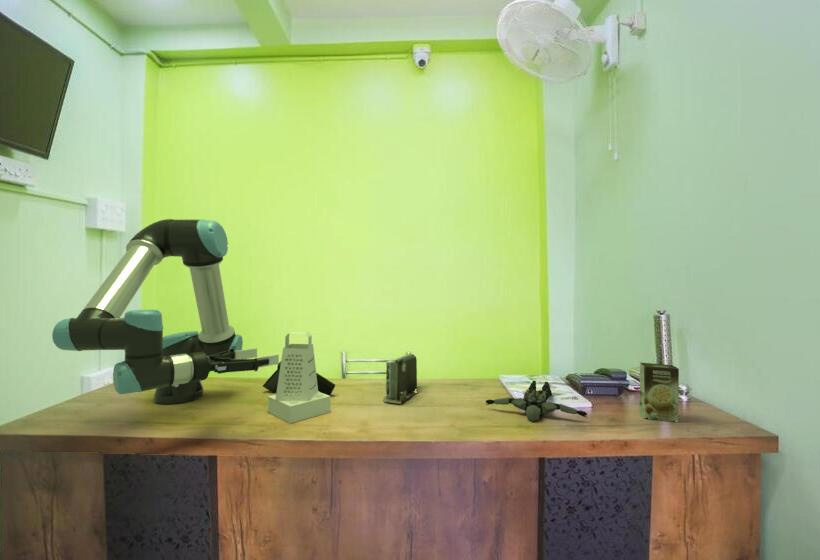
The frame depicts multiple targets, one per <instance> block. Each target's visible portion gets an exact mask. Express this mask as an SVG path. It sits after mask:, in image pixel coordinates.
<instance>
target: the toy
mask: <svg viewBox="0 0 820 560" xmlns="http://www.w3.org/2000/svg"><path fill="white" fill-rule="evenodd" d="M551 396H553V393H552V390H551V385H550V383H549V382H548V381H545V382H544V384H543V385H542V387H541V389H540V390H537V380H532V382H531V384H530V385H529V386H528V388H527V389H526V390H525V392H524V394H523V397H522V398H520V397H519V398H514V397H513V398H512V397H503V398H496V399H486V400H485V405H488V406H489V405H494V404H495V405H509V404H511V405H513V407H515V408H516V409H517V408H518V409H519V410H521V411H524V412H525V415H526V418H527V419H528V420H529V421H531V422H533V421H534V422H535V421H536V420H537V421H538V420H539V419H540V416H541V415H544V414H548V413H552V412H555V411H556V410H560V411H561V412H564V413H565V414H572V415H579V416H582V417H584V418H587V417H588V413H587V412H586V411H584V410H577V409H576V408H574V407H571V406H568V405H565V404H562V403H555V402H550V401H548V400H549V399H550V397H551Z"/></svg>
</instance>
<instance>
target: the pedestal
mask: <svg viewBox="0 0 820 560" xmlns="http://www.w3.org/2000/svg"><path fill="white" fill-rule="evenodd" d="M310 391H311V390H310ZM286 392H288V393H290V391H285V392H284V393H286ZM291 393H294V390H292V391H291ZM295 393H298V391H297V390H296V391H295ZM299 393H301V391H299ZM288 396H290V397H292V394H290V395H288V394H286V397H288ZM293 397H296V395H295V394H294V395H293ZM297 397H300V395H299V394H298V395H297ZM331 398H332V397H331V395H330V396H329V395H326V394H323V393H321V392H319V391H317V392H316V394H315V395H314V396H313V397H312V398H311V400H310V401H297V400H275V399H276V394H273V395H268V398H267V412H268V413H269V414H270V415H271V414H272V415H273V416H275V417H276V418H279V419H281V420H283V421H285V422H287V423H289V424H293V423H296V422H300V421H303V420H307V419H311V418H314V417H317V416H320V415H323V414H326V413H331Z"/></svg>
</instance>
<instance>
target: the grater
mask: <svg viewBox="0 0 820 560" xmlns="http://www.w3.org/2000/svg"><path fill="white" fill-rule="evenodd" d="M290 334H293V335H294V334H295V335H296V334H297V335H306V336H307V338H308V341H307V342H308V343H306V344H305V343H290ZM312 340H313V339H312V334H311V332H310V331H309V332H308V331H291V332H288V333H287V334H286V336H285V339H284V347H283V348H282V354H281V358H280V361H281V366H280V372H279V379H278V386H277V392H276V393H275V395H276V399H275V400H297V401H310V400H311V398H312V397H313V396H314V395H315V394H316V392H317V391H318V385H317V376H316V373H317V367H316V359H315V351H314V344H313V343H312ZM286 359H287V360H286ZM285 360H286V361H285ZM296 390H297V391H298V393H295V391H296ZM310 390H311V391H310ZM291 391H294V393H291ZM299 391H301V393H299ZM285 392H286V393H285ZM288 392H290V393H288ZM318 392H319V391H318ZM286 394H288V395H290V394H292V397H290V396H288V397H286ZM294 394H295V395H296V397H293V395H294ZM298 394H299V395H300V397H297V395H298Z"/></svg>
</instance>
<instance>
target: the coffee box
mask: <svg viewBox="0 0 820 560" xmlns="http://www.w3.org/2000/svg"><path fill="white" fill-rule="evenodd" d="M679 375H680V369H679V368H678V367H676V366H675V365H673V364H664V363H663V364H662V363H652V362H651V363H650V362H639V399H638V400H639V401H638V402H639V403H638V404H639V406H638V408H639V409H638V410H639V411H638V412H640V413H639V414H640V415H641V416H642V418H643V419H645V418H648V419H647V420H652V419H657V420H656V421H661V420H665V421H664V422H670V421H678V422H679V389H680V388H679V385H680V384H679V383H680V382H679V378H680V376H679Z"/></svg>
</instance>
